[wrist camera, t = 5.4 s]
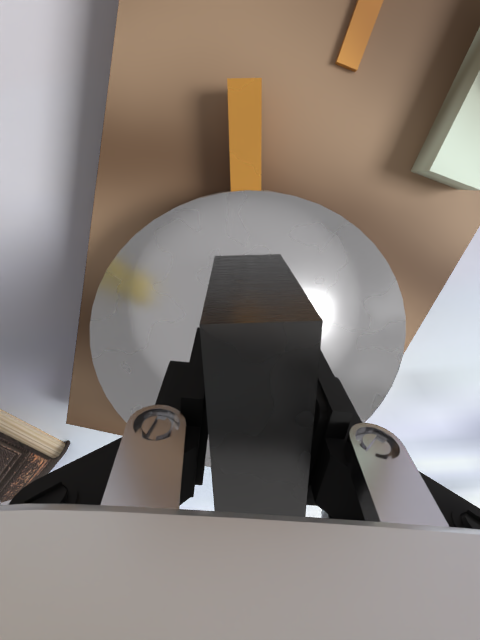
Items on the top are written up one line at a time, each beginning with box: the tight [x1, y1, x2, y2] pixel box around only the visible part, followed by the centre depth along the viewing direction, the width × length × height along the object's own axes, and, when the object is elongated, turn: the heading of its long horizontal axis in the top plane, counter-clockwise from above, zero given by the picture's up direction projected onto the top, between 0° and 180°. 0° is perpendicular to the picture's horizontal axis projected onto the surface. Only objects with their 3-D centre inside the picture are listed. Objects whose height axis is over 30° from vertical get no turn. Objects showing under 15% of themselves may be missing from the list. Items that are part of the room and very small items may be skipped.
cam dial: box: [90, 78, 406, 517], centre depth 10 cm, size 15×12×7 cm
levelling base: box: [66, 0, 480, 436], centre depth 12 cm, size 24×14×4 cm, turn 163°
